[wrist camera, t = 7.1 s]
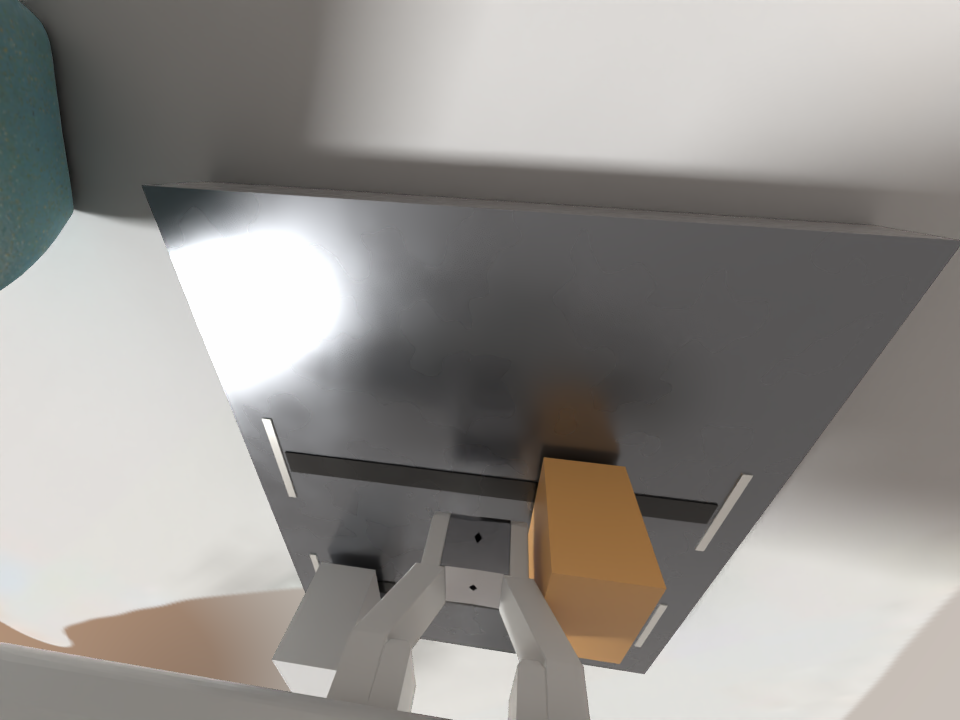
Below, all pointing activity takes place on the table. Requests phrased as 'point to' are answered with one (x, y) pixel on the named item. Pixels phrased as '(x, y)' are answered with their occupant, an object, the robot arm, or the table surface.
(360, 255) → the console
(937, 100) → the table surface
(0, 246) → the flower pot
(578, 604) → the fader
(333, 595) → the block
